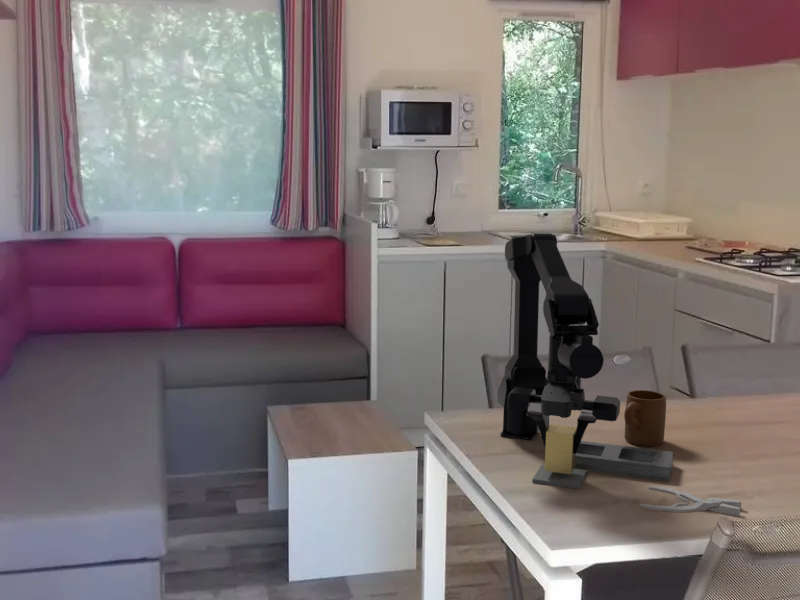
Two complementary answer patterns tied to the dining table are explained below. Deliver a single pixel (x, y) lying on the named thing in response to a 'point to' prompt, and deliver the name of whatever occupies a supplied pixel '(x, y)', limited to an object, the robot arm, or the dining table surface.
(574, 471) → the pad
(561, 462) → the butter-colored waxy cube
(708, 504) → the pliers
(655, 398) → the mug
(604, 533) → the dining table surface
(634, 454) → the grey flat frame
